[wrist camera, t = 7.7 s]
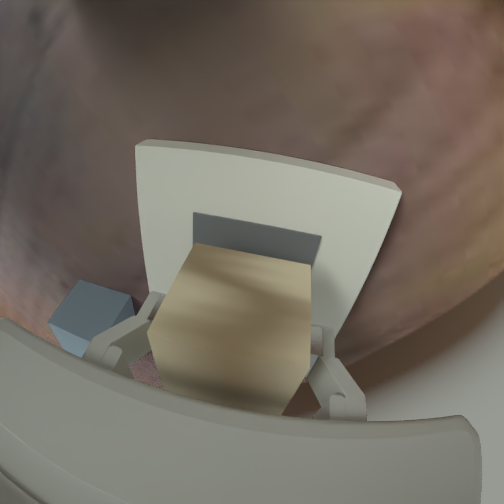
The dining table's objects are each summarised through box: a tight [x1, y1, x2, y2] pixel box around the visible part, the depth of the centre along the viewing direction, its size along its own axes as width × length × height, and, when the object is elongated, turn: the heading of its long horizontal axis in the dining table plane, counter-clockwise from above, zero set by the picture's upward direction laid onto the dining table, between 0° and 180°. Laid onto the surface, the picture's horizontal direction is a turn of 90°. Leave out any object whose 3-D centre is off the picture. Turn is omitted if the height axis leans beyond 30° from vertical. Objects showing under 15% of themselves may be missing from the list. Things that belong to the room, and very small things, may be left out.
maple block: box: [147, 243, 311, 415], centre depth 11 cm, size 5×5×5 cm
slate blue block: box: [48, 279, 136, 358], centre depth 19 cm, size 5×5×5 cm
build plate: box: [135, 139, 402, 340], centre depth 15 cm, size 12×12×1 cm
